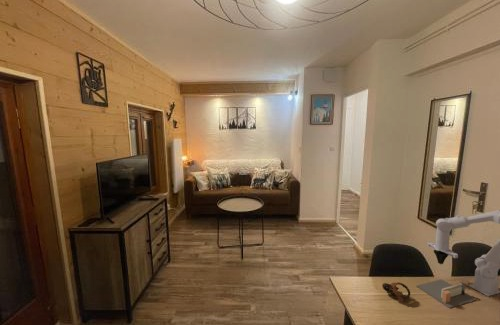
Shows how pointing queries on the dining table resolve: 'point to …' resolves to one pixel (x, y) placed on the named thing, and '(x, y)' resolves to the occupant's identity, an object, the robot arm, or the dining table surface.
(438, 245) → the robot arm
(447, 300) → the block
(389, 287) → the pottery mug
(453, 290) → the bar
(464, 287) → the gate post
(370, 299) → the dining table surface
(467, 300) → the mat
